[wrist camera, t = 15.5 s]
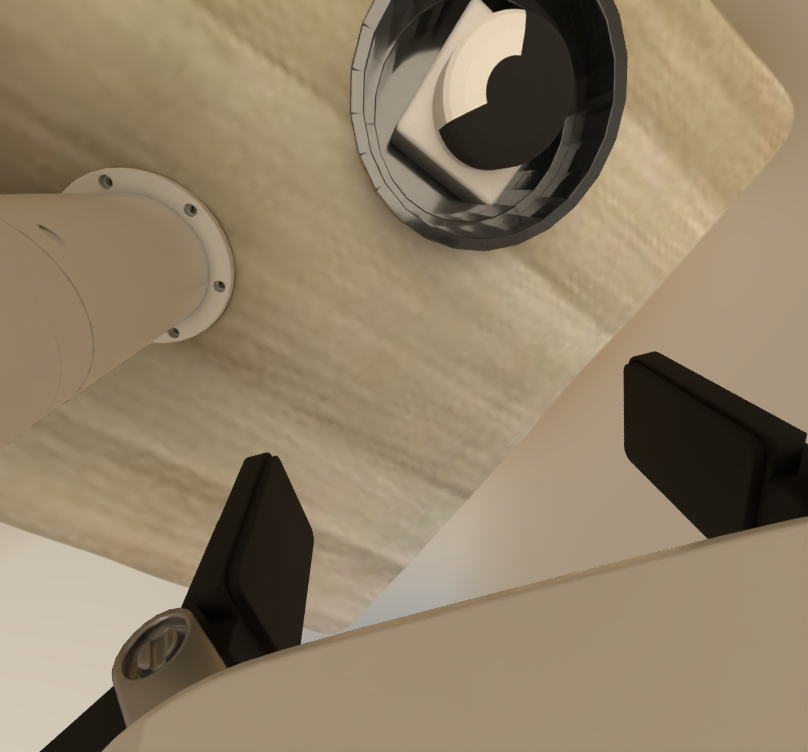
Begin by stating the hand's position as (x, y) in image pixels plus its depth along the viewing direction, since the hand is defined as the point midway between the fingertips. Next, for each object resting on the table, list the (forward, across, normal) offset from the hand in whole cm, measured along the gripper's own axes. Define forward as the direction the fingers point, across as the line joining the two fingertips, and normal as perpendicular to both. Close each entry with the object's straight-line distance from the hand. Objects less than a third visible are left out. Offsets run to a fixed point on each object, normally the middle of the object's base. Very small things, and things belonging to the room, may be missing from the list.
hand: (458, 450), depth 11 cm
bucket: (+25, -7, -9) cm, 27 cm away
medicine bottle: (+24, -7, -9) cm, 27 cm away
